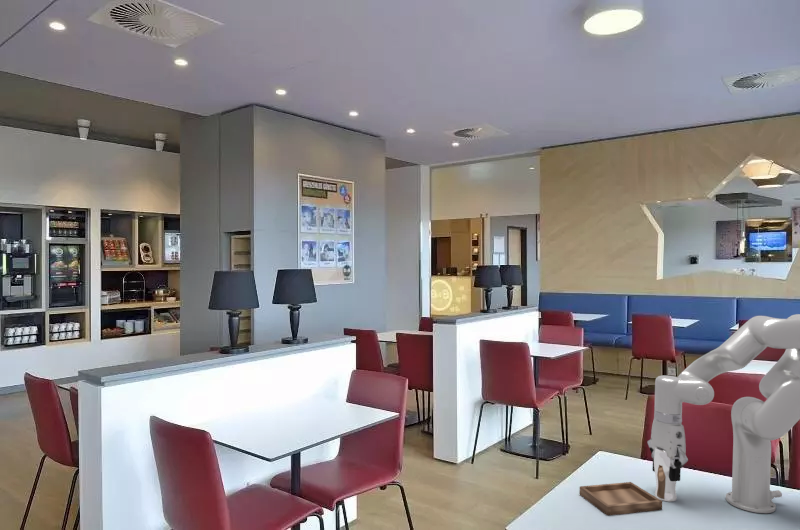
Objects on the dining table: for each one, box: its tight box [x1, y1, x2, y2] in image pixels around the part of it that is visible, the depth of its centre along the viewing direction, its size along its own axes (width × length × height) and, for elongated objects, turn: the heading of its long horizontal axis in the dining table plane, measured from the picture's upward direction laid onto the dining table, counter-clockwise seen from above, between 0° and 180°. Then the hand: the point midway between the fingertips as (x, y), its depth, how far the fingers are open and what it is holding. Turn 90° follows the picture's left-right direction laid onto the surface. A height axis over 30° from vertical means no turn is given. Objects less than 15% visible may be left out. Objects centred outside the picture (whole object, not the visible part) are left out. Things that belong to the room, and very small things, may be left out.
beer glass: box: [654, 446, 678, 503], centre depth 168 cm, size 7×7×15 cm
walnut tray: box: [578, 481, 663, 517], centre depth 164 cm, size 18×14×2 cm
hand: (666, 475), depth 168 cm, fingers closed on beer glass, 6 cm apart
